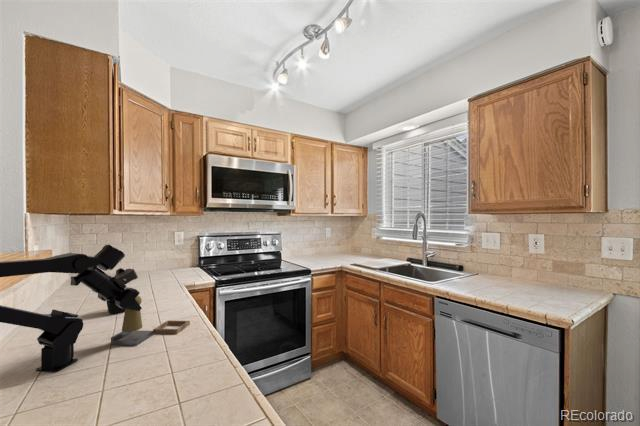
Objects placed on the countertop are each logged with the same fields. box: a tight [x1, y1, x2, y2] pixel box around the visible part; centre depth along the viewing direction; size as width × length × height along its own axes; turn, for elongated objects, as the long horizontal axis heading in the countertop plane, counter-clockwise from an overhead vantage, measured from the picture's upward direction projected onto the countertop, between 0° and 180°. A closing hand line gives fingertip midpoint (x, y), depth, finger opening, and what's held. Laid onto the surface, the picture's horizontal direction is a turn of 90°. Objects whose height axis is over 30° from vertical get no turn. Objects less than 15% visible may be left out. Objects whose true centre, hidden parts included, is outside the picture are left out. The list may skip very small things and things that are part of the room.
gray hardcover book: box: [110, 329, 154, 346], centre depth 99 cm, size 8×9×2 cm
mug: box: [106, 286, 131, 315], centre depth 130 cm, size 12×9×10 cm
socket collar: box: [152, 320, 191, 335], centre depth 108 cm, size 9×9×2 cm
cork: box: [121, 295, 143, 332], centre depth 99 cm, size 6×6×11 cm
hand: (137, 308), depth 100 cm, fingers closed on cork, 5 cm apart
